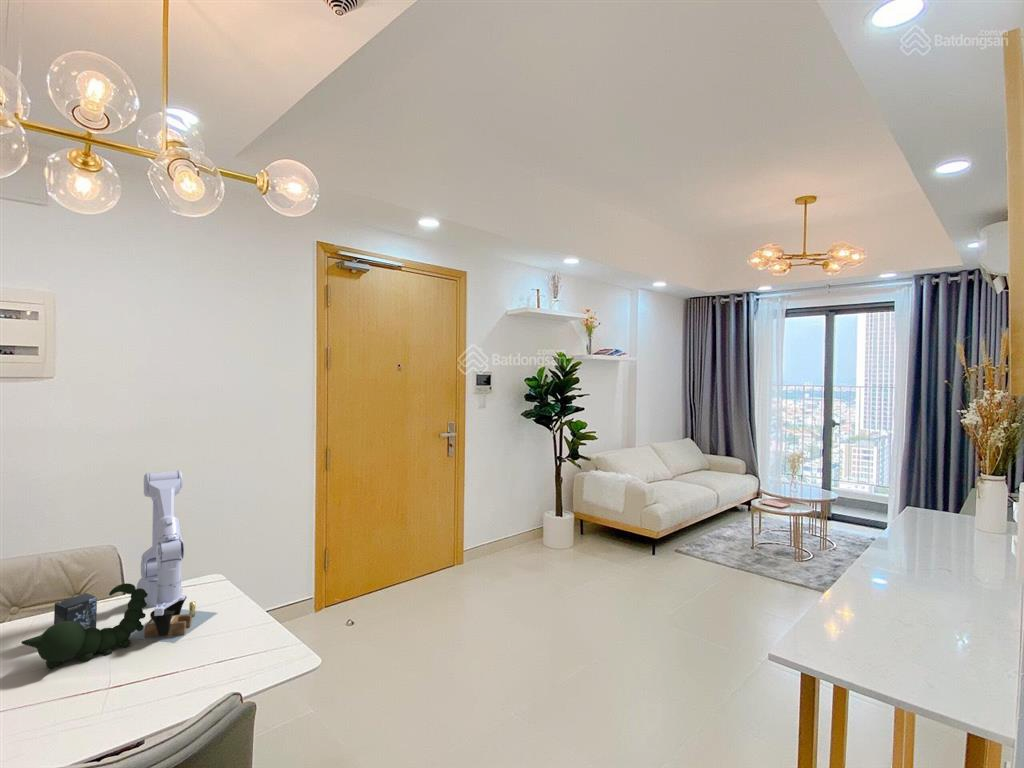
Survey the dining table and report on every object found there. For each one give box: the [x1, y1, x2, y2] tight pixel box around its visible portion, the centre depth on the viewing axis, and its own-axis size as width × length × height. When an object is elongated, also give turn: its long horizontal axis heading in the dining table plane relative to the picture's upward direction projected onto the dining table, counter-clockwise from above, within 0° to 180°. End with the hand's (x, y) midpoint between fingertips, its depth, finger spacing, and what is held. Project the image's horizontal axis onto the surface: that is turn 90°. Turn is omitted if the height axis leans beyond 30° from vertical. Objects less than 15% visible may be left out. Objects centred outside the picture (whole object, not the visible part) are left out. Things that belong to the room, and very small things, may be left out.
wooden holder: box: [144, 614, 192, 638], centre depth 150 cm, size 10×6×4 cm, turn 104°
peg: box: [188, 601, 197, 618], centre depth 159 cm, size 2×2×4 cm
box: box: [53, 592, 98, 629], centre depth 147 cm, size 8×6×11 cm
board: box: [128, 608, 218, 644], centre depth 155 cm, size 16×18×1 cm
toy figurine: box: [21, 582, 148, 671], centre depth 136 cm, size 9×19×25 cm
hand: (168, 628), depth 150 cm, fingers open, 6 cm apart
